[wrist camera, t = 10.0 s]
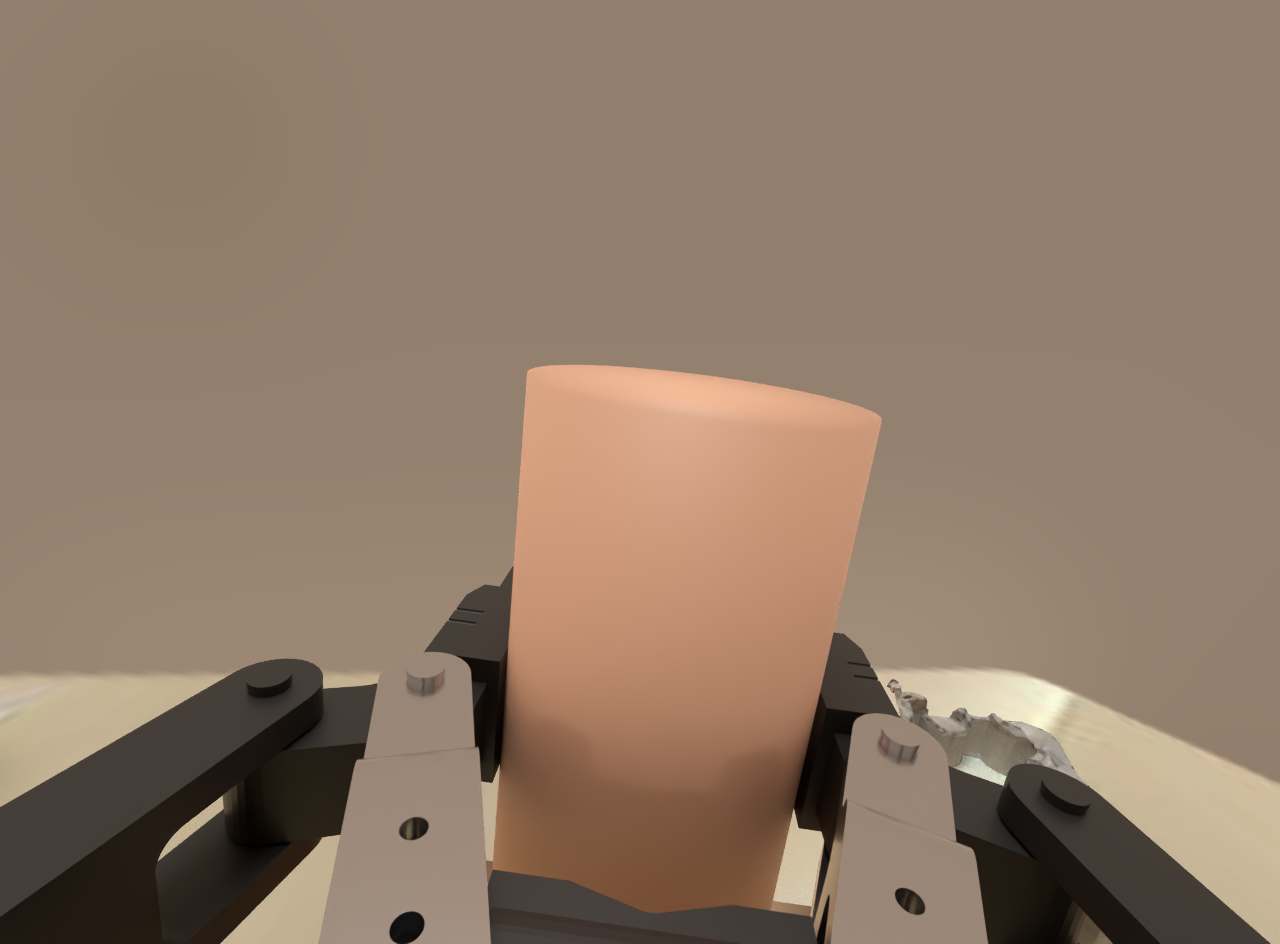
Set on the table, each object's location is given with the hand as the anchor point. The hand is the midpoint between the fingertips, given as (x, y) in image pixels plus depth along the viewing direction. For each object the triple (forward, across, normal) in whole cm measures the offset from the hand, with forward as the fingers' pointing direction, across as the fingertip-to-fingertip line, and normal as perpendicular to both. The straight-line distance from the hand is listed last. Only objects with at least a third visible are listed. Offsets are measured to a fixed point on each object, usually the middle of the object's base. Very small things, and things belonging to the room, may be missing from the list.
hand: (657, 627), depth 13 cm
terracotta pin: (-3, 0, +7) cm, 7 cm away
